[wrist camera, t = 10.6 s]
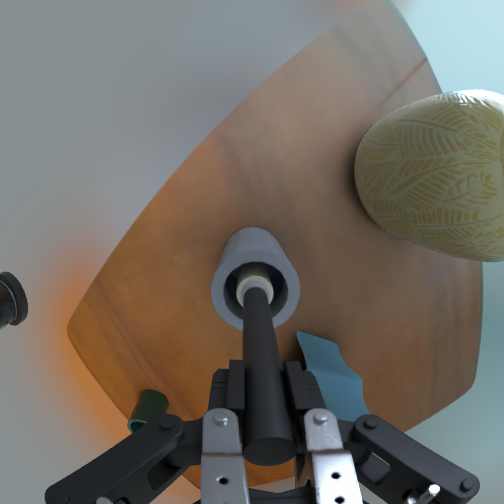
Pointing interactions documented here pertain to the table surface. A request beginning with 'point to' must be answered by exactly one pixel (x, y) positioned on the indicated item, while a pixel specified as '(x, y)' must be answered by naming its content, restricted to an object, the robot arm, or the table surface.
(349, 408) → the blue bent piece
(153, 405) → the holder
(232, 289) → the cup
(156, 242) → the table surface
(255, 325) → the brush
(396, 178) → the vase
